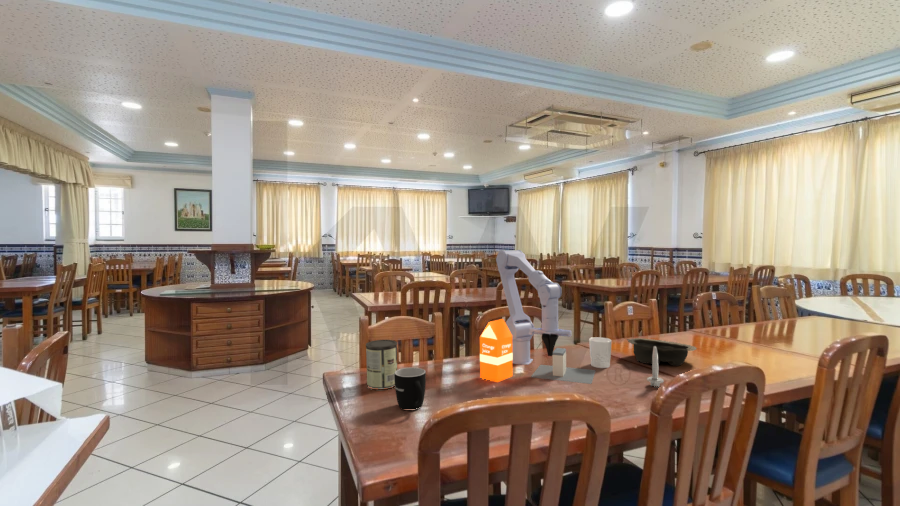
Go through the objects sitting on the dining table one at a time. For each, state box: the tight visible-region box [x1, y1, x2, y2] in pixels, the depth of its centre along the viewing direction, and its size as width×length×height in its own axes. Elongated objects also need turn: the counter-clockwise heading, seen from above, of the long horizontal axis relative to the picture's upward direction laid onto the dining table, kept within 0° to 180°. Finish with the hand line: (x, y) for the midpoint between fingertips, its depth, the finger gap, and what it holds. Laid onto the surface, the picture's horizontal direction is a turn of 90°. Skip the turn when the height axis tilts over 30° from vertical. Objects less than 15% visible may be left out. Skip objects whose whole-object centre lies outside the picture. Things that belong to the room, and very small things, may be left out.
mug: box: [394, 366, 427, 410], centre depth 123 cm, size 12×9×10 cm
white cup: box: [588, 336, 612, 369], centre depth 162 cm, size 8×8×10 cm
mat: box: [530, 364, 597, 385], centre depth 153 cm, size 20×16×1 cm
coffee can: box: [365, 339, 398, 389], centre depth 144 cm, size 10×10×14 cm
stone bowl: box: [626, 336, 698, 367], centre depth 168 cm, size 25×25×9 cm
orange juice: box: [479, 318, 514, 383], centre depth 150 cm, size 8×9×20 cm
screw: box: [646, 346, 665, 388], centre depth 139 cm, size 13×5×5 cm
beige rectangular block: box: [552, 347, 567, 376], centre depth 153 cm, size 4×7×8 cm, turn 157°
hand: (550, 355), depth 154 cm, fingers closed
